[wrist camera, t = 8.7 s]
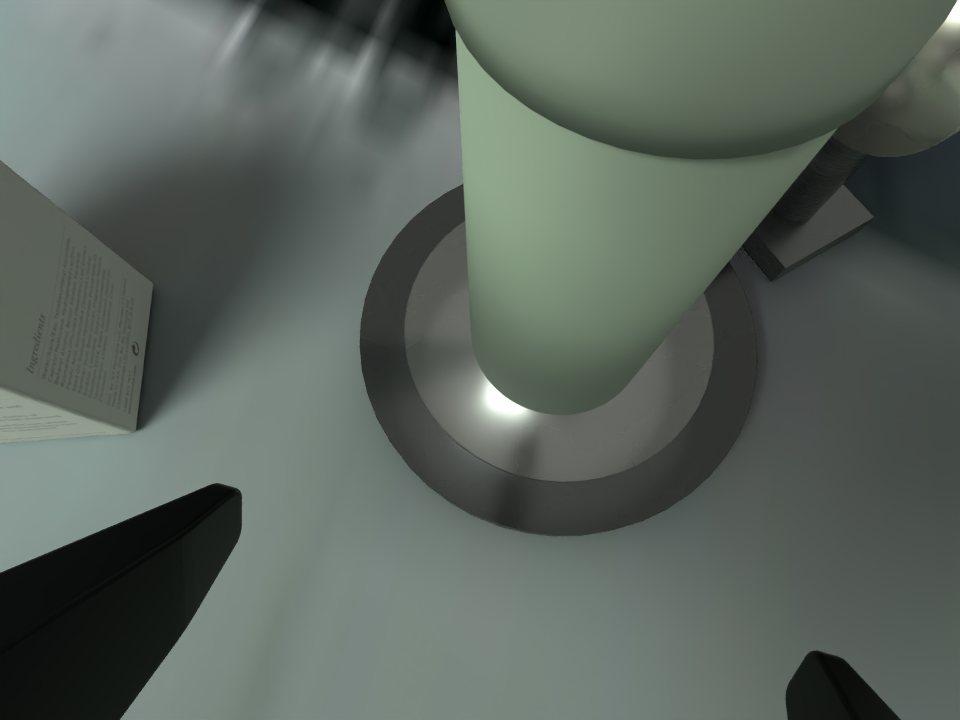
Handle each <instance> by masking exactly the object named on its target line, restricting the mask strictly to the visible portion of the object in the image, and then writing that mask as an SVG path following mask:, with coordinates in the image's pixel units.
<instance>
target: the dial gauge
mask: <svg viewBox="0 0 960 720" xmlns="http://www.w3.org/2000/svg"><path fill="white" fill-rule="evenodd" d="M959 131H960V0H958V1H957V3H956V4H955V6H954V8H953V9H952V11H951V12H950V14H949V16H948V17H947V19H946V20H945V22H944V23H943V24H942V25H941V26H940V28H939V29H938V30H937V31H936V32H935V33H934V35H933V36H932V37H931V38H930V39H929V40H928V42H927V43H926V44H925V45H924V46H923V47H922V49H921V50H920V51H919V52H918V53H917V54H916V56H915V57H914V58H913V59H912V60H911V61H910V63H909V64H908V65H907V66H906V67H905V69H904V70H903V71H902V72H901V73H900V74H899V76H898V77H897V78H896V79H895V80H894V81H893V83H892V84H891V85H890V86H889V87H888V88H887V89H886V90H885V91H884V92H883V93H882V95H881V96H880V97H879V98H878V99H877V100H876V101H875V102H874V103H873V104H871V105H870V106H869V107H868V108H866V109H865V110H864V111H863V112H861V113H860V114H859V115H857V116H856V117H855V118H854V119H852V120H851V121H849V122H847V123H845V124H843V125H842V126H840V127H838V128H837V130H836V131H835V132H834V133H833V135H832V136H831V137H830V138H829V139H828V141H827V142H826V143H825V144H824V146H823V147H822V148H821V149H820V150H819V152H818V153H817V154H816V155H815V157H814V158H813V159H812V160H811V161H810V163H809V164H808V165H807V166H806V168H805V169H804V170H803V171H802V172H801V174H800V175H799V176H798V177H797V179H796V180H795V181H794V182H793V183H792V185H791V186H790V187H789V188H788V190H787V191H786V192H785V193H784V194H783V196H782V197H781V198H780V199H779V201H778V202H777V203H776V204H775V205H774V207H773V208H772V209H771V210H770V212H769V213H768V214H767V215H766V216H765V218H764V219H763V220H762V221H761V223H760V224H759V225H758V226H757V227H756V229H755V230H754V231H753V232H752V234H751V235H750V236H749V237H748V238H747V240H746V241H745V242H744V243H743V245H742V246H743V248H744V249H745V250H746V251H747V252H748V254H749V255H750V256H751V257H752V258H753V260H754V261H755V262H756V263H757V264H758V266H759V267H760V268H761V269H762V270H763V272H764V273H765V274H766V275H767V276H768V278H769V279H770V280H771V281H774V280H775V279H777V278H779V277H781V276H782V275H784V274H786V273H787V272H789V271H791V270H793V269H794V268H796V267H798V266H800V265H801V264H803V263H805V262H806V261H808V260H810V259H812V258H813V257H815V256H817V255H819V254H820V253H822V252H824V251H826V250H827V249H829V248H831V247H832V246H834V245H836V244H838V243H839V242H841V241H843V240H845V239H846V238H848V237H850V236H851V235H853V234H855V233H857V232H858V231H859V230H860V229H861V228H862V227H863V226H865V225H866V224H867V223H868V222H869V221H870V220H871V219H873V218H874V217H873V216H872V215H871V214H870V212H869V211H868V210H867V209H866V208H865V207H864V206H863V205H862V204H861V203H860V202H859V201H858V200H857V199H856V197H855V196H854V195H853V194H852V193H851V192H850V191H849V190H848V189H847V188H846V187H845V186H844V185H843V184H844V183H845V182H846V181H847V180H848V179H849V178H850V177H851V176H852V175H853V174H854V173H855V172H856V170H857V169H858V168H859V167H860V166H861V165H862V164H863V163H864V162H865V161H866V160H867V159H868V158H869V157H870V156H871V155H872V156H880V157H899V156H905V155H910V154H914V153H917V152H921V151H923V150H925V149H928V148H930V147H932V146H934V145H936V144H938V143H939V142H941V141H943V140H945V139H947V138H948V137H950V136H952V135H954V134H955V133H957V132H959Z"/></svg>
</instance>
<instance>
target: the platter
mask: <svg viewBox="0 0 960 720" xmlns="http://www.w3.org/2000/svg"><path fill="white" fill-rule="evenodd" d="M360 354H361V365H362V372H363V377H364V381H365V385H366V389H367V393H368V396H369V399H370V402H371V404H372V407H373V409H374V412H375V414H376V417H377V419H378V421H379V423H380V424H381V426H382V428H383V430H384V432H385V433H386V435H387V437H388V439H389V440H390V442H391V443H392V445H393V446H394V447H395V449H396V450H397V451H398V453H399V454H400V455H401V456H402V458H403V459H404V460H405V462H406V463H407V464H408V466H409V467H410V468H411V469H412V470H413V471H414V472H415V473H416V474H417V475H418V476H419V477H420V478H421V479H422V480H423V481H424V482H425V483H426V484H427V485H428V486H429V487H430V488H431V489H433V490H434V491H435V492H437V493H438V494H439V495H441V496H442V497H443V498H445V499H446V500H447V501H449V502H450V503H451V504H453V505H455V506H457V507H459V508H460V509H462V510H464V511H466V512H467V513H469V514H471V515H473V516H475V517H477V518H480V519H482V520H485V521H487V522H490V523H492V524H495V525H497V526H500V527H504V528H508V529H512V530H516V531H520V532H524V533H529V534H538V535H547V536H581V535H587V534H593V533H600V532H606V531H610V530H614V529H618V528H621V527H624V526H627V525H631V524H634V523H637V522H640V521H643V520H645V519H647V518H649V517H651V516H653V515H656V514H658V513H660V512H662V511H664V510H666V509H668V508H669V507H671V506H672V505H674V504H675V503H677V502H678V501H680V500H681V499H683V498H684V497H686V496H687V495H689V494H690V493H691V492H692V491H694V490H695V489H696V488H697V487H698V486H699V485H700V484H701V483H702V482H703V481H705V480H706V479H707V478H708V477H709V476H710V475H711V474H712V472H713V471H714V470H715V469H716V468H717V466H718V465H719V464H720V463H721V461H722V460H723V459H724V458H725V457H726V455H727V454H728V452H729V450H730V449H731V447H732V445H733V443H734V442H735V440H736V438H737V437H738V435H739V433H740V431H741V429H742V426H743V424H744V421H745V419H746V416H747V414H748V411H749V408H750V404H751V400H752V396H753V392H754V388H755V380H756V369H757V347H756V334H755V329H754V324H753V319H752V313H751V310H750V307H749V304H748V301H747V298H746V295H745V292H744V290H743V287H742V285H741V283H740V281H739V279H738V277H737V275H736V273H735V271H734V269H733V267H732V266H731V264H730V263H729V262H728V263H727V264H726V265H725V267H724V268H723V269H722V270H721V271H720V273H719V274H718V275H717V276H716V278H715V279H714V280H713V281H712V282H711V284H710V285H709V286H708V287H707V289H706V290H705V291H704V292H703V293H702V295H701V296H700V297H699V298H698V299H697V301H696V302H695V303H694V304H693V306H692V307H691V308H690V309H689V310H688V312H687V313H686V314H685V315H684V317H683V318H682V319H681V320H680V321H679V323H678V324H677V325H676V326H675V328H674V329H673V330H672V331H671V332H670V334H669V335H668V336H667V337H666V339H665V340H664V341H663V342H662V343H661V345H660V346H659V347H658V348H657V350H656V351H655V352H654V353H653V354H652V356H651V357H650V358H649V359H648V361H647V362H646V363H645V364H644V365H643V367H642V368H641V369H640V370H639V372H638V373H637V374H636V375H635V376H634V378H633V379H632V380H631V381H630V383H629V384H628V385H627V386H626V387H625V388H624V389H623V390H622V391H621V392H620V393H619V394H618V395H617V396H616V397H614V398H613V399H612V400H610V401H609V402H607V403H605V404H604V405H602V406H600V407H597V408H595V409H593V410H590V411H586V412H583V413H578V414H571V415H552V414H544V413H540V412H535V411H532V410H530V409H527V408H524V407H522V406H520V405H518V404H516V403H514V402H512V401H511V400H509V399H508V398H507V397H505V396H504V395H502V394H501V393H500V392H499V391H498V390H497V389H496V388H495V387H494V386H493V385H492V384H491V383H490V382H489V380H488V379H487V378H486V376H485V375H484V373H483V372H482V370H481V369H480V366H479V364H478V362H477V360H476V357H475V354H474V351H473V347H472V340H471V326H470V306H469V285H468V265H467V245H466V225H465V205H464V185H463V184H462V185H460V186H458V187H456V188H454V189H453V190H451V191H449V192H447V193H445V194H444V195H442V196H441V197H439V198H438V199H436V200H435V201H433V202H432V203H430V204H429V205H428V206H427V207H425V208H424V209H423V210H422V211H421V212H420V213H418V214H417V215H416V216H415V217H414V218H413V219H412V220H411V221H410V222H409V223H408V224H407V225H406V226H405V227H404V228H403V230H402V231H401V232H400V233H399V234H398V235H397V236H396V238H395V239H394V241H393V242H392V244H391V245H390V246H389V248H388V249H387V251H386V252H385V254H384V255H383V257H382V259H381V261H380V263H379V265H378V267H377V269H376V271H375V273H374V275H373V277H372V280H371V283H370V286H369V289H368V292H367V295H366V298H365V303H364V308H363V313H362V319H361V330H360Z"/></svg>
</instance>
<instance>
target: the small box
mask: <svg viewBox="0 0 960 720" xmlns="http://www.w3.org/2000/svg"><path fill="white" fill-rule="evenodd" d="M152 291H153V284H152V283H151V282H150V281H149V280H148V279H147V278H146V277H144V276H143V275H142V274H140V273H139V272H138V271H137V270H135V269H134V268H133V267H132V266H131V265H129V264H128V263H127V262H126V261H125V260H123V259H122V258H121V257H120V256H118V255H117V254H116V253H115V252H113V251H112V250H111V249H110V248H108V247H107V246H106V245H104V244H103V243H102V242H101V241H99V240H98V239H97V238H96V237H95V236H94V235H93V234H91V233H90V232H89V231H88V230H86V229H85V228H84V227H82V226H81V225H80V224H79V223H77V222H76V221H75V220H73V219H72V218H71V217H70V216H68V215H67V214H66V213H65V212H64V211H62V210H61V209H60V208H59V207H57V206H56V205H55V204H54V203H52V202H51V201H50V200H49V199H48V198H46V197H45V196H44V195H43V194H41V193H40V192H39V191H38V190H37V189H35V188H34V187H33V186H31V185H30V184H29V183H28V182H26V181H25V180H24V179H23V178H21V177H20V176H19V175H17V174H16V173H15V172H14V171H13V170H12V169H11V168H9V167H8V166H7V165H6V164H4V163H3V162H2V161H0V443H7V442H20V441H34V440H48V439H60V438H71V437H84V436H98V435H111V434H130V433H134V432H135V431H136V424H137V416H138V408H139V399H140V391H141V383H142V375H143V366H144V357H145V349H146V340H147V331H148V323H149V315H150V307H151V299H152Z"/></svg>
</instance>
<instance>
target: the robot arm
mask: <svg viewBox="0 0 960 720" xmlns="http://www.w3.org/2000/svg"><path fill="white" fill-rule="evenodd" d="M241 528H242V494H241V492H240V490H239V489H237V488H234V487H231V486H227V485H223V484H220V483H215V484H211V485H209V486H206V487H204V488H201V489H199V490H197V491H194V492H192V493H189V494H187V495H185V496H182V497H180V498H177V499H175V500H173V501H170V502H168V503H166V504H163V505H161V506H158V507H156V508H154V509H151V510H149V511H146V512H144V513H142V514H139V515H137V516H135V517H132V518H130V519H127V520H125V521H123V522H120V523H118V524H115V525H113V526H111V527H108V528H106V529H103V530H101V531H99V532H96V533H94V534H92V535H89V536H87V537H84V538H82V539H80V540H77V541H75V542H72V543H70V544H68V545H65V546H63V547H61V548H58V549H56V550H53V551H51V552H49V553H46V554H44V555H41V556H39V557H37V558H34V559H32V560H29V561H27V562H25V563H22V564H20V565H18V566H15V567H13V568H10V569H8V570H6V571H3V572H1V573H0V720H120V719H121V717H122V716H123V715H124V713H125V712H126V711H127V709H128V708H129V707H130V705H131V704H132V702H133V701H134V700H135V698H136V697H137V696H138V694H139V693H140V691H141V690H142V689H143V687H144V686H145V685H146V683H147V682H148V681H149V679H150V678H151V676H152V675H153V674H154V672H155V671H156V670H157V668H158V667H159V665H160V664H161V663H162V661H163V660H164V659H165V657H166V656H167V655H168V653H169V652H170V650H171V649H172V648H173V646H174V645H175V644H176V642H177V641H178V639H179V638H180V637H181V635H182V634H183V632H184V631H185V629H186V628H187V626H188V625H189V623H190V621H191V620H192V618H193V617H194V615H195V613H196V612H197V610H198V608H199V607H200V605H201V603H202V601H203V600H204V598H205V596H206V595H207V593H208V591H209V590H210V588H211V586H212V584H213V583H214V581H215V579H216V578H217V576H218V574H219V572H220V571H221V569H222V567H223V566H224V564H225V562H226V561H227V559H228V557H229V555H230V554H231V552H232V550H233V549H234V547H235V545H236V543H237V542H238V539H239V537H240V534H241ZM786 708H787V716H788V720H901V719H900V718H899V717H898V716H897V715H896V714H895V713H894V712H893V711H892V710H891V709H890V708H889V707H888V705H887V704H886V703H885V702H884V701H883V700H882V699H881V698H880V697H879V696H878V695H877V694H876V693H875V692H874V691H873V689H872V688H871V687H870V686H869V685H868V684H867V683H866V682H865V681H864V680H863V679H862V678H861V677H860V676H859V674H858V673H857V672H856V671H855V670H854V669H853V668H852V667H851V666H850V665H849V664H848V663H847V662H846V661H845V660H844V659H842V658H840V657H838V656H835V655H831V654H828V653H824V652H821V651H811V652H809V653H808V654H807V655H806V657H805V658H804V660H803V661H802V663H801V665H800V666H799V668H798V669H797V671H796V673H795V674H794V676H793V677H792V679H791V680H790V682H789V684H788V687H787V690H786Z"/></svg>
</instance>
